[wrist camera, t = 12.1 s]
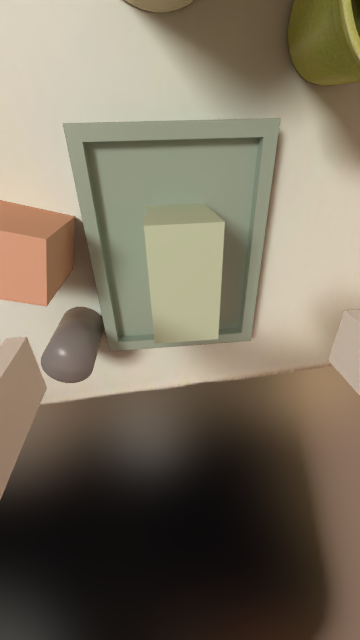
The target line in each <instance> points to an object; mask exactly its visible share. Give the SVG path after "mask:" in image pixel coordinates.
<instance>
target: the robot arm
mask: <svg viewBox="0 0 360 640" xmlns="http://www.w3.org/2000/svg"><path fill="white" fill-rule="evenodd" d="M328 361H329V362H330V363H331V364H332V365H333V366H334V368H335V369H336V370H337V371H338V372H339V373H340V374H341V375H342V376H343V378H344V379H345V380H346V381H347V382H348V383H349V384H350V386H351V387H352V388H353V389H354V390H355V391H356V392H357V393H358V395H359V396H360V309H356V310H344V313H343V316H342V319H341V322H340V325H339V328H338V331H337V334H336V337H335V340H334V343H333V346H332V349H331V352H330V355H329V358H328ZM46 388H47V387H46V385H45V382H44V379H43V377H42V374H41V372H40V369H39V367H38V364H37V362H36V359H35V357H34V354H33V351H32V349H31V346H30V344H29V341H28V339H27V337H19V338H7V339H6V340H5V341H4V342H3V344H2V345H1V346H0V499H1V497H2V494H3V492H4V490H5V487H6V485H7V482H8V480H9V478H10V475H11V473H12V470H13V468H14V466H15V463H16V461H17V458H18V456H19V453H20V451H21V448H22V446H23V444H24V441H25V439H26V436H27V434H28V432H29V429H30V427H31V424H32V422H33V420H34V417H35V415H36V412H37V410H38V408H39V405H40V403H41V401H42V398H43V396H44V393H45V391H46Z"/></svg>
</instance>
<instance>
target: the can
mask: <svg viewBox="0 0 360 640" xmlns="http://www.w3.org/2000/svg"><path fill="white" fill-rule="evenodd" d="M125 1H126V2H128V3H130V4H131V5H133V6H135V7H138V8H140V9H143V10H147V11H151V12H170V11H174V10H178V9H180V8H183V7H185V6H187V5H189V4H190V3H192V2H193V1H195V0H125Z"/></svg>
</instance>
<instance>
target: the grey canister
mask: <svg viewBox="0 0 360 640" xmlns="http://www.w3.org/2000/svg"><path fill="white" fill-rule="evenodd" d="M103 330H104V323H103V320H102V318H101V316H100V315H99V314H98V313H97V312H95V311H94V310H92V309H89V308H86V307H75V308H72V309H70V310H68V311H67V312H66V313H65V314H64V316H63V318H62V320H61V321H60V323H59V325H58V327H57V329H56V331H55V332H54V334H53V336H52V338H51V340H50V342H49V344H48V345H47V347H46V349H45V351H44V353H43V355H42V357H41V365H42V368H43V370H44V371H45V372H46V374H47V375H49V376H50V377H51V378H53V379H55V380H57V381H60V382H65V383H76V382H80V381H83V380H85V379H86V378H88V377H89V376H90V374H91V373H92V371H93V367H94V363H95V360H96V356H97V352H98V348H99V345H100V341H101V337H102V334H103Z"/></svg>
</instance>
